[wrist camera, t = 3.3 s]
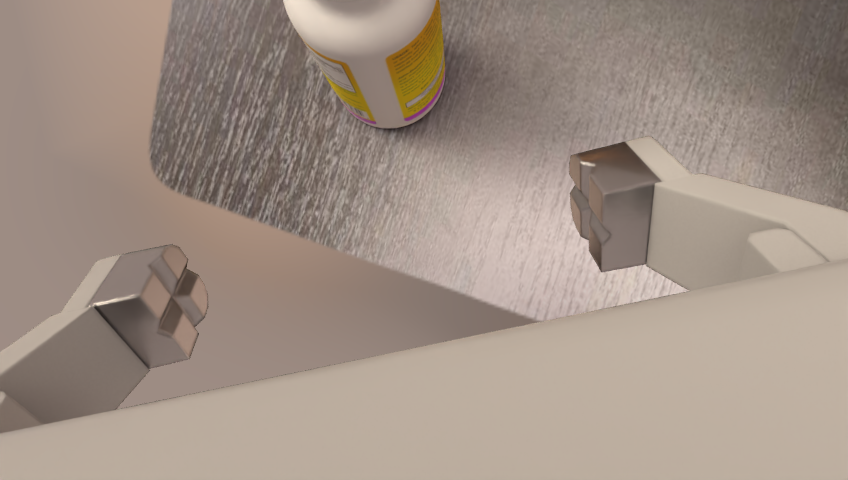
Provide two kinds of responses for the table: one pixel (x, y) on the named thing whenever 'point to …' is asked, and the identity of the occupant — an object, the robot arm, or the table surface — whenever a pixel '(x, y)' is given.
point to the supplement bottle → (376, 54)
